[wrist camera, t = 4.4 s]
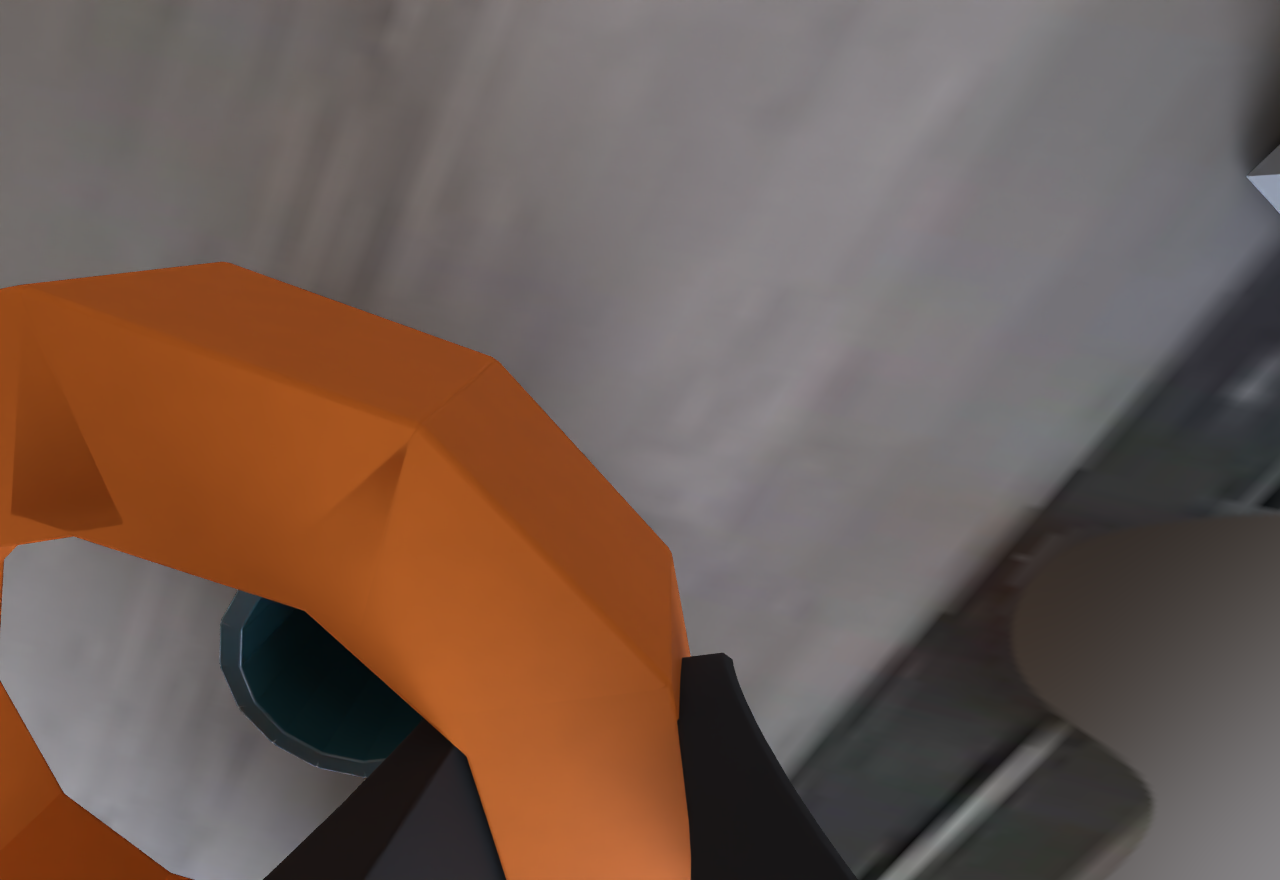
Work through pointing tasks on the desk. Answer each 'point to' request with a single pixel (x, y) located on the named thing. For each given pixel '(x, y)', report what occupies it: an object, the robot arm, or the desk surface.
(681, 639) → the ring
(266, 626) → the cup
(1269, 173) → the tall grey leaning box
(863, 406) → the desk surface
